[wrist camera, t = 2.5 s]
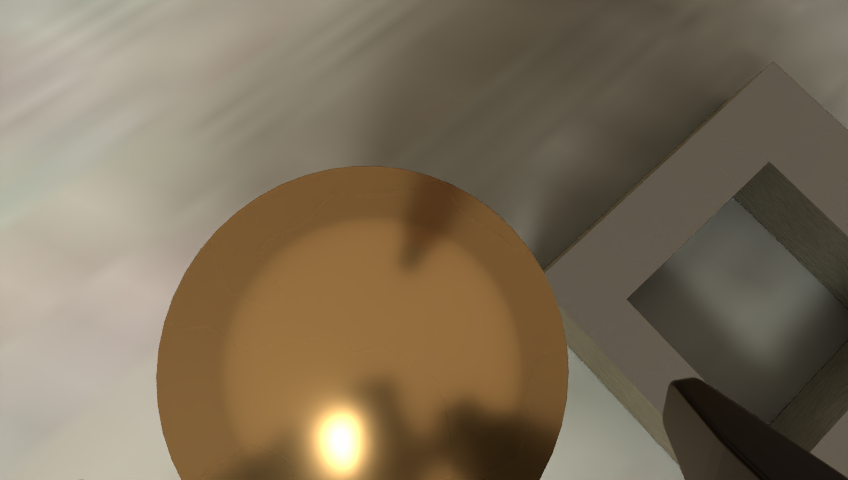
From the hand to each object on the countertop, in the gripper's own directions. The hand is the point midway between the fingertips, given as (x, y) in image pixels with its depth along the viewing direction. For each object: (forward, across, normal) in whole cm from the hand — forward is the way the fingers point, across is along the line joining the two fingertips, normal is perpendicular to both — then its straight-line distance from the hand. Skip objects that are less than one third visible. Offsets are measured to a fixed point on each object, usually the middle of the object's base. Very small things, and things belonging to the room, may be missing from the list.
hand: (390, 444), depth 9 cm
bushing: (+7, 0, +5) cm, 9 cm away
